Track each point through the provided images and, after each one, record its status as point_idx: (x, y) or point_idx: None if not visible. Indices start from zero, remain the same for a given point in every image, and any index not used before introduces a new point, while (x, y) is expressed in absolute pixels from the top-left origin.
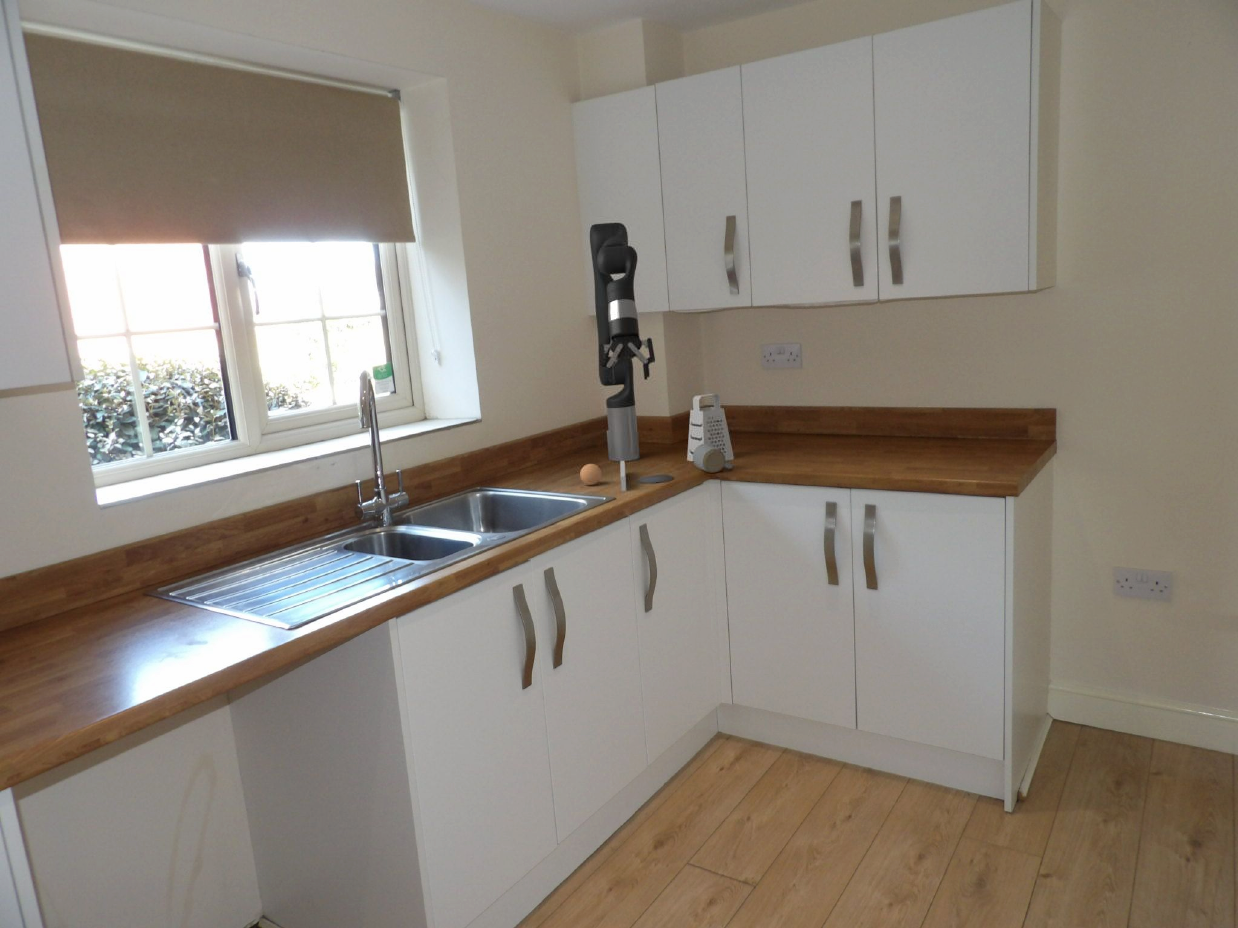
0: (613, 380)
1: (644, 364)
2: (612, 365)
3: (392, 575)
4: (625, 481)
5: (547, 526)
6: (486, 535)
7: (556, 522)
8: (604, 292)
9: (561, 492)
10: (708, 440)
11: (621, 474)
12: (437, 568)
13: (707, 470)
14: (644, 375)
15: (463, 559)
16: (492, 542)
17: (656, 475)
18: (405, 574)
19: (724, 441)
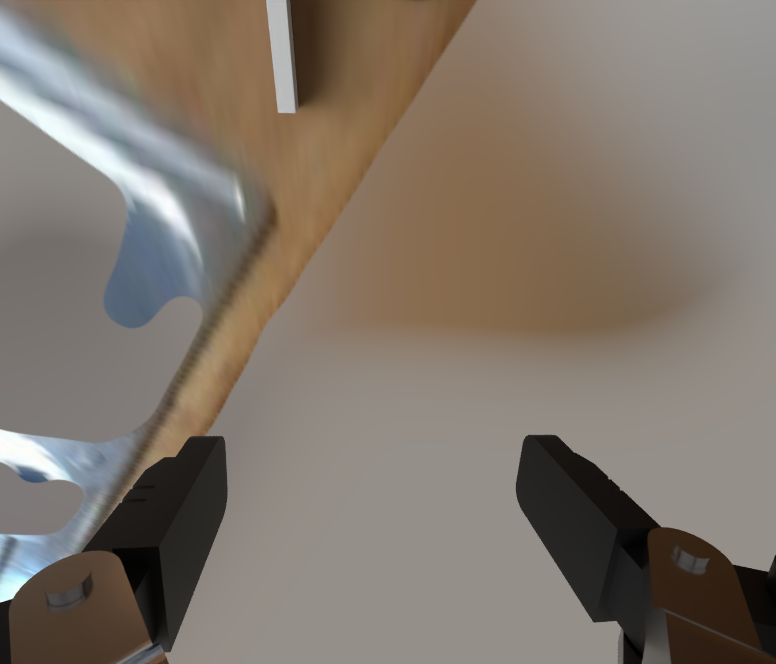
0: (221, 514)
1: (609, 615)
2: (115, 636)
3: (21, 567)
4: (294, 83)
5: (164, 414)
6: (52, 444)
7: (174, 393)
8: None
9: (17, 10)
10: None
11: (276, 62)
12: (76, 552)
13: None
14: (529, 514)
15: (94, 531)
16: (95, 478)
17: None
18: (40, 565)
19: None
